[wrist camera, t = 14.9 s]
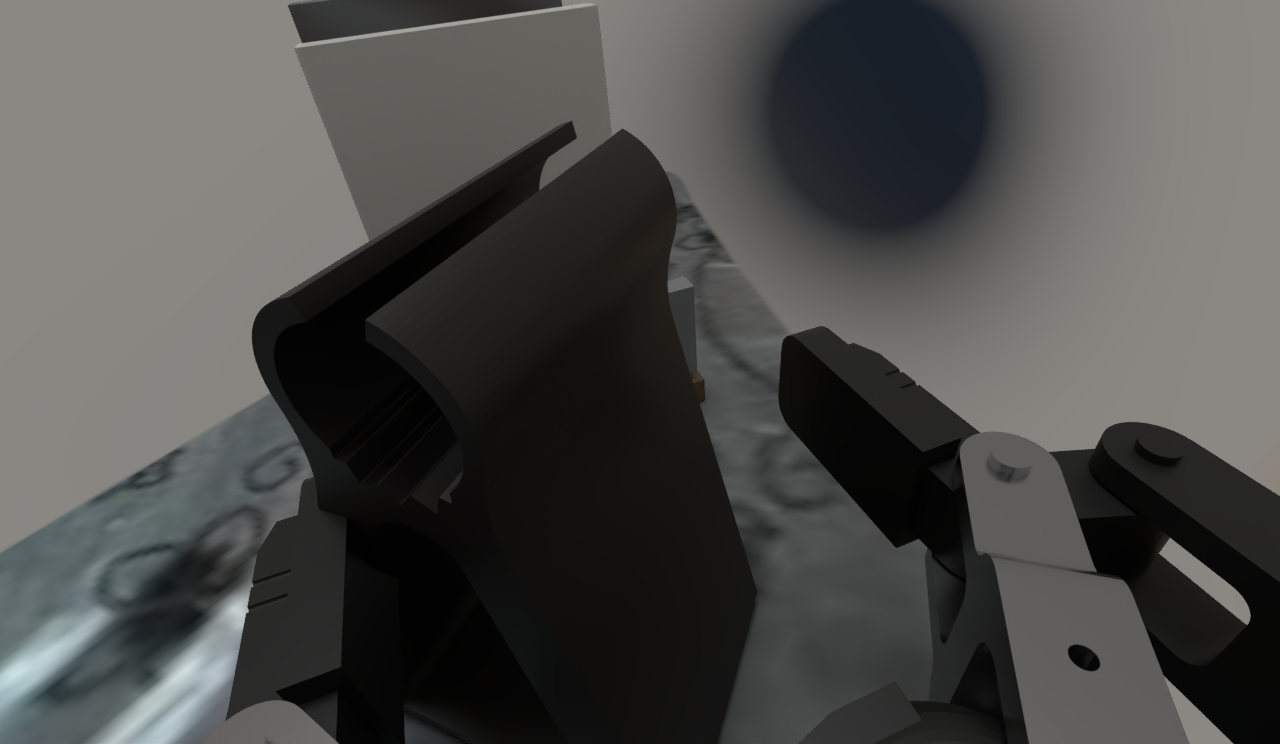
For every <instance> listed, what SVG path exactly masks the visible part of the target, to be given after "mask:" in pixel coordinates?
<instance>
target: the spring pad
mask: <svg viewBox="0 0 1280 744" xmlns="http://www.w3.org/2000/svg"><path fill="white" fill-rule="evenodd" d="M294 49H295V52H296V54H297V57H298V59H299V62H300V64H301V67H302V69H303V72H304V75H305V77H306V80H307V82H308V85H309V88H310V90H311V93H312V95H313V98H314V100H315V103H316V105H317V107H318V111H319V113H320V116H321V118H322V120H323V123H324V126H325V128H326V131H327V134H328V136H329V139H330V141H331V144H332V146H333V149H334V151H335V154H336V157H337V159H338V162H339V164H340V167H341V169H342V172H343V174H344V177H345V180H346V182H347V184H348V187H349V190H350V192H351V195H352V197H353V200H354V203H355V205H356V208H357V210H358V213H359V215H360V218H361V220H362V223H363V226H364V228H365V231H366V233H367V236H368V238H369V241H371V240H372V239H374V238H376V237H377V236H379V235H381V234H382V233H384V232H385V231H387V230H389V229H390V228H392V227H394V226H395V225H397V224H399V223H400V222H402V221H403V220H405V219H407V218H408V217H410V216H412V215H413V214H415V213H416V212H418V211H420V210H421V209H423V208H425V207H426V206H428V205H429V204H431V203H433V202H434V201H436V200H438V199H439V198H441V197H443V196H444V195H446V194H447V193H449V192H451V191H452V190H454V189H456V188H457V187H459V186H460V185H462V184H464V183H465V182H467V181H469V180H470V179H472V178H474V177H475V176H477V175H478V174H480V173H482V172H483V171H485V170H487V169H488V168H490V167H491V166H493V165H495V164H496V163H498V162H500V161H501V160H503V159H504V158H506V157H508V156H509V155H511V154H513V153H514V152H516V151H518V150H519V149H521V148H522V147H524V146H526V145H527V144H529V143H531V142H532V141H534V140H535V139H537V138H539V137H540V136H542V135H544V134H545V133H547V132H548V131H550V130H552V129H553V128H555V127H557V126H559V125H561V124H563V123H566V122H569V121H572V122H573V126H574V129H575V132H576V135H577V139H575V140H574V141H572V142H571V143H569V144H568V145H566V146H565V147H563V148H562V149H560V150H559V151H557V152H556V153H554V154H553V155H551V156H550V157H548V159H547V161H546V163H545V165H544V167H543V170H542V173H541V177H540V186H539V190H540V189H542V188H543V187H545V186H546V185H547V184H549V183H550V182H551V181H553V180H554V179H555V178H557V177H558V176H559V175H561V174H562V173H563V172H565V171H566V170H567V169H569V168H570V167H571V166H573V165H574V164H575V163H577V162H578V161H580V160H581V159H582V158H584V157H585V156H586V155H588V154H589V153H590V152H592V151H593V150H594V149H596V148H597V147H598V146H600V145H601V144H602V143H604V142H605V141H606V140H608V139H609V138H611V137H612V132H611V123H610V113H609V104H608V96H607V88H606V87H607V86H606V77H605V69H604V60H603V50H602V42H601V34H600V24H599V15H598V7H597V5H595V4H591V3H585V4H577V5H571V6H563V7H556V8H549V9H542V10H535V11H528V12H520V13H513V14H506V15H499V16H492V17H485V18H478V19H471V20H464V21H456V22H449V23H442V24H435V25H428V26H421V27H414V28H407V29H400V30H393V31H385V32H378V33H371V34H364V35H357V36H350V37H343V38H336V39H329V40H321V41H314V42H307V43H300V44H297V45H296V47H295V48H294ZM668 295H669V302H670V307H671V312H672V316H673V319H674V323H675V326H676V329H677V332H678V336H679V339H680V342H681V345H682V349H683V352H684V355H685V358H686V362H687V365H688V368H689V371H690V372H692V371H695V370H697V359H696V332H695V304H694V286H693V285H692V284H691V283H690V282H689V281H688V280H687V279H686V278H685V276H684V277H680V278H676V279H672V280H669V281H668Z"/></svg>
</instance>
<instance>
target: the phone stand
mask: <svg viewBox="0 0 1280 744" xmlns="http://www.w3.org/2000/svg"><path fill="white" fill-rule="evenodd" d="M575 139H577V135H576V132H575V129H574V126H573V122H572V121H569V122H566V123H563V124H561V125H559V126H557V127H555V128H553V129H552V130H550V131H548V132H547V133H545V134H544V135H542V136H540V137H539V138H537V139H535V140H534V141H532V142H531V143H529V144H527V145H526V146H524V147H522V148H521V149H519V150H518V151H516V152H514V153H513V154H511V155H509V156H508V157H506V158H504V159H503V160H501V161H500V162H498V163H496V164H495V165H493V166H491V167H490V168H488V169H487V170H485V171H483V172H482V173H480V174H478V175H477V176H475V177H474V178H472V179H470V180H469V181H467V182H465V183H464V184H462V185H460V186H459V187H457V188H456V189H454V190H452V191H451V192H449V193H447V194H446V195H444V196H443V197H441V198H439V199H438V200H436V201H434V202H433V203H431V204H429V205H428V206H426V207H425V208H423V209H421V210H420V211H418V212H416V213H415V214H413V215H412V216H410V217H408V218H407V219H405V220H403V221H402V222H400V223H399V224H397V225H395V226H394V227H392V228H390V229H389V230H387V231H385V232H384V233H382V234H381V235H379V236H377V237H376V238H374V239H372V240H371V241H369V242H368V243H366V244H364V245H363V246H361V247H360V248H358V249H356V250H355V251H353V252H351V253H350V254H348V255H346V256H345V257H343V258H341V259H340V260H338V261H337V262H335V263H333V264H332V265H330V266H328V267H327V268H325V269H324V270H322V271H320V272H319V273H317V274H315V275H314V276H312V277H311V278H309V279H307V280H306V281H304V282H302V283H301V284H299V285H298V286H296V287H294V288H293V289H291V290H289V291H288V292H286V293H285V294H283V295H281V296H280V297H278V298H276V299H275V300H273V301H271V302H270V303H268V304H267V305H265V306H264V307H263V308H262V309H261V310H260V311H259V313H258V314H257V316H256V318H255V321H254V324H253V329H252V345H253V351H254V356H255V359H256V362H257V365H258V368H259V370H260V373H261V375H262V377H263V380H264V382H265V384H266V386H267V387H268V389H269V391H270V393H271V395H272V396H273V398H274V399H275V401H276V403H277V404H278V406H279V407H280V409H281V410H282V412H283V413H284V415H285V416H286V418H287V420H288V421H289V423H290V425H291V426H292V428H293V430H294V432H295V433H296V435H297V437H298V439H299V441H300V443H301V445H302V447H303V449H304V451H305V454H306V456H307V458H308V461H309V463H310V466H311V469H312V472H313V475H314V479H315V484H316V490H317V501H318V508H319V509H322V510H325V511H328V512H331V513H334V514H337V515H340V516H343V517H346V518H347V519H348V520H349V522H350V524H351V525H352V527H353V529H354V530H355V532H356V534H357V535H358V537H359V539H360V540H361V542H362V544H363V545H364V547H365V549H366V550H367V552H368V554H369V555H370V557H371V559H372V560H373V562H374V564H375V566H376V567H377V569H378V571H379V572H380V573H383V574H386V575H389V576H392V577H394V578H397V579H398V598H399V621H400V643H401V666H402V688H403V710H404V711H406V712H408V713H410V714H412V715H414V716H416V717H418V718H420V719H422V720H424V721H426V722H428V723H430V724H432V725H434V726H436V727H438V728H440V729H442V730H444V731H446V732H448V733H450V734H452V735H454V736H456V737H458V738H460V739H462V740H464V741H466V742H468V743H470V744H715V743H716V740H717V736H718V733H719V729H720V725H721V722H722V718H723V714H724V711H725V707H726V703H727V700H728V696H729V693H730V689H731V685H732V682H733V678H734V674H735V671H736V667H737V663H738V660H739V656H740V652H741V649H742V645H743V642H744V638H745V634H746V631H747V627H748V623H749V620H750V616H751V612H752V609H753V605H754V601H755V598H756V594H757V589H756V586H755V583H754V579H753V576H752V573H751V570H750V566H749V563H748V560H747V557H746V553H745V550H744V547H743V544H742V540H741V537H740V534H739V531H738V527H737V524H736V521H735V518H734V514H733V511H732V508H731V505H730V501H729V498H728V495H727V492H726V488H725V485H724V482H723V479H722V475H721V472H720V469H719V466H718V462H717V459H716V456H715V453H714V449H713V446H712V443H711V440H710V436H709V433H708V430H707V427H706V423H705V420H704V417H703V414H702V410H701V407H700V404H699V401H698V397H697V394H696V391H695V388H694V384H693V381H692V378H691V375H690V371H689V368H688V365H687V362H686V358H685V355H684V352H683V349H682V345H681V342H680V339H679V336H678V332H677V329H676V326H675V323H674V319H673V316H672V312H671V307H670V302H669V295H668V264H669V257H670V251H671V247H672V243H673V240H674V236H675V231H676V222H677V212H676V203H675V198H674V194H673V190H672V187H671V184H670V182H669V179H668V177H667V175H666V173H665V171H664V169H663V168H662V166H661V164H660V163H659V161H658V160H657V159H656V157H655V156H654V155H653V153H652V152H651V151H650V150H649V149H648V148H647V147H646V146H645V145H644V144H643V143H642V142H641V141H640V140H638V139H637V138H636V137H634V136H633V135H632V134H630V133H629V132H627V131H626V130H624V129H621V130H620V131H619V132H617V133H616V134H615V135H613V136H612V137H611V138H609V139H608V140H606V141H605V142H604V143H602V144H601V145H600V146H598V147H597V148H596V149H594V150H593V151H592V152H590V153H589V154H588V155H586V156H585V157H584V158H582V159H581V160H580V161H578V162H577V163H575V164H574V165H573V166H571V167H570V168H569V169H567V170H566V171H565V172H563V173H562V174H561V175H559V176H558V177H557V178H555V179H554V180H553V181H551V182H550V183H549V184H547V185H546V186H545V187H543V188H542V189H540V190H539V186H540V177H541V173H542V170H543V167H544V165H545V163H546V161H547V159H548V157H550V156H551V155H553V154H554V153H556V152H557V151H559V150H560V149H562V148H563V147H565V146H566V145H568V144H569V143H571V142H572V141H574V140H575Z"/></svg>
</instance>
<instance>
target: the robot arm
mask: <svg viewBox="0 0 1280 744" xmlns="http://www.w3.org/2000/svg"><path fill="white" fill-rule="evenodd" d="M778 399H779V406H780V410H781V413H782V416H783V418H784V420H785V422H786V423H787V425H788V426H789V427H790V429H791V430H792V431H793V432H794V433H795V434H796V435H797V437H798V438H799V439H800V440H801V441H802V442H803V443H804V444H805V446H806V447H807V448H808V449H809V450H810V451H811V452H812V454H813V455H814V456H815V457H816V458H817V459H818V460H819V461H820V463H821V464H822V465H823V466H824V467H825V468H826V469H827V470H828V472H829V473H830V474H831V475H832V476H833V477H834V478H835V479H836V481H837V482H838V483H839V484H840V485H841V486H842V487H843V489H844V490H845V491H846V492H847V493H848V494H849V495H850V496H851V498H852V499H853V500H854V501H855V502H856V503H857V504H858V505H859V507H860V508H861V509H862V510H863V511H864V512H865V513H866V514H867V516H868V517H869V518H870V519H871V520H872V521H873V522H874V524H875V525H876V526H877V527H878V528H879V529H880V530H881V531H882V533H883V534H884V535H885V536H886V537H887V538H888V539H889V540H890V542H891V543H892V544H893V545H894V546H895V547H896V548H898V547H900V546H903V545H905V544H907V543H910V542H912V541H915V540H917V539H920V540H921V541H922V542H923V543H924V544H925V545H926V546H927V548H928V549H927V552H926V555H925V567H926V578H927V590H928V601H929V612H930V624H931V635H932V647H933V668H932V675H931V682H930V692H929V701H910V702H909V701H908V700H907V698H906V697H905V695H904V694H903V693H902V691H901V690H900V688H899V687H898V686H897V684H896V683H895V682H894V683H892V684H890V685H888V686H886V687H884V688H882V689H879V690H877V691H875V692H873V693H871V694H869V695H867V696H865V697H863V698H861V699H858V700H856V701H854V702H852V703H850V704H848V705H846V706H844V707H842V708H839V709H837V710H835V711H833V712H831V713H830V714H829V715H828V716H827V717H826V718H825V719H824V720H823V721H822V722H821V723H819V724H818V725H817V726H816V727H815V728H814V729H813V730H812V731H811V732H810V733H809V734H808V735H807V736H806V737H805V738H804V739H803V740H802V741H801V742H800V743H799V744H1189V742H1188V739H1187V736H1186V734H1185V731H1184V729H1183V726H1182V723H1181V721H1180V718H1179V715H1178V713H1177V710H1176V707H1175V705H1174V702H1173V699H1172V697H1171V694H1170V692H1169V689H1168V687H1167V684H1166V681H1165V678H1164V676H1165V677H1166V678H1167V679H1168V680H1169V681H1170V682H1171V683H1172V684H1173V685H1174V686H1175V687H1176V688H1177V689H1178V690H1179V691H1180V692H1181V693H1182V694H1183V695H1184V696H1185V697H1186V698H1187V699H1188V700H1189V701H1191V703H1192V704H1193V705H1195V706H1196V707H1197V708H1198V709H1199V710H1200V711H1201V712H1202V713H1203V714H1204V715H1205V716H1206V717H1207V718H1208V719H1209V720H1210V721H1211V722H1212V723H1213V724H1214V725H1215V726H1216V727H1217V728H1218V729H1219V730H1220V731H1221V732H1222V733H1223V734H1224V735H1225V736H1226V737H1227V738H1228V739H1229V740H1230V741H1231V742H1232V743H1234V744H1280V496H1278V495H1277V494H1275V493H1274V492H1272V491H1271V490H1269V489H1267V488H1266V487H1264V486H1262V485H1261V484H1260V483H1258V482H1256V481H1255V480H1253V479H1252V478H1250V477H1248V476H1247V475H1245V474H1244V473H1242V472H1240V471H1239V470H1238V469H1236V468H1234V467H1233V466H1231V465H1230V464H1228V463H1227V462H1225V461H1223V460H1222V459H1220V458H1219V457H1217V456H1215V455H1214V454H1212V453H1211V452H1209V451H1208V450H1206V449H1205V448H1203V447H1201V446H1200V445H1198V444H1197V443H1195V442H1193V441H1192V440H1190V439H1188V438H1187V437H1185V436H1183V435H1181V434H1179V433H1177V432H1175V431H1172V430H1169V429H1167V428H1163V427H1160V426H1156V425H1152V424H1147V423H1139V422H1125V423H1119V424H1115V425H1112V426H1110V427H1109V428H1107V429H1106V430H1105V431H1104V433H1103V434H1102V436H1101V438H1100V440H1099V442H1098V444H1097V446H1096V448H1095V449H1086V450H1073V451H1058V452H1048V451H1046V450H1045V449H1044V448H1042V447H1041V446H1039V445H1038V444H1036V443H1034V442H1032V441H1030V440H1028V439H1026V438H1023V437H1020V436H1017V435H1013V434H1009V433H1003V432H984V433H980V432H979V431H977V430H976V429H975V428H973V427H972V426H971V425H970V424H968V423H967V422H966V421H965V420H963V419H962V418H961V417H959V416H958V415H957V414H956V413H954V412H953V411H952V410H950V409H949V408H948V407H947V406H945V405H944V404H943V403H942V402H940V401H939V400H938V399H937V398H935V397H934V396H933V395H932V394H930V393H929V392H927V391H926V390H925V389H924V388H922V387H921V386H920V385H918V386H917V385H916V384H915V381H914V380H912V379H911V378H910V377H909V376H907V375H906V374H905V373H903V372H902V373H900V371H899V369H898V368H897V367H896V366H895V365H893V364H892V363H891V362H889V361H888V360H887V359H886V358H884V357H883V356H882V355H880V354H879V353H876V352H874V351H872V350H869V349H867V348H864V347H862V346H860V345H857V344H854V343H852V344H847V343H846V342H844V341H843V340H842V339H840V338H839V337H838V336H837V335H836V334H834V333H833V332H832V331H831V330H830V329H828V328H826V327H823V326H819V327H816V328H813V329H809V330H806V331H803V332H799V333H796V334H793V335H789V336H787V337H785V339H784V340H783V343H782V350H781V365H780V381H779V396H778ZM1169 538H1171V539H1173V540H1174V541H1175V542H1176V543H1178V544H1179V545H1180V546H1182V547H1183V548H1184V549H1185V550H1187V551H1188V552H1189V553H1191V554H1192V555H1193V556H1194V557H1196V558H1197V559H1198V560H1200V561H1201V562H1202V563H1203V564H1205V565H1206V566H1207V567H1208V568H1210V569H1211V570H1212V571H1213V572H1215V573H1216V574H1217V575H1219V576H1220V577H1221V578H1222V579H1224V580H1225V581H1226V582H1228V583H1229V584H1230V585H1231V586H1233V587H1234V588H1235V589H1236V590H1237V591H1238V592H1239V593H1240V594H1241V595H1242V596H1243V598H1244V599H1245V601H1246V603H1247V604H1248V607H1249V609H1250V613H1251V618H1250V622H1249V624H1248V625H1246V624H1244V623H1243V622H1242V621H1241V620H1240V619H1238V618H1237V617H1236V616H1235V615H1233V614H1232V613H1231V612H1230V611H1228V610H1227V609H1226V608H1225V607H1224V606H1222V605H1221V604H1220V603H1219V602H1217V601H1216V600H1215V599H1214V598H1213V597H1211V596H1210V595H1209V594H1208V593H1206V592H1205V591H1204V590H1203V589H1201V588H1200V587H1199V586H1198V585H1197V584H1195V583H1194V582H1193V581H1192V580H1191V579H1189V578H1188V577H1187V576H1186V575H1184V574H1183V573H1182V572H1181V571H1179V570H1178V569H1177V568H1176V567H1175V566H1173V565H1172V564H1171V563H1169V561H1167V560H1166V559H1165V558H1164V557H1162V556H1161V555H1160V554H1159V552H1160V551H1161V550H1162V548H1163V547H1164V545H1165V544H1166V542H1167V541H1168V540H1169ZM252 582H253V587H252V588H251V591H250V596H249V601H248V609H249V613H246V617H245V623H244V628H243V633H242V639H241V644H240V649H239V655H238V660H237V665H236V671H235V676H234V681H233V687H232V692H231V697H230V703H229V708H228V712H227V716H226V720H225V722H224V723H223V724H221V725H220V726H219V727H218V728H217V729H216V730H214V731H213V733H212V734H211V735H210V736H209V737H208V738H207V739H206V740H205V741H204V742H203V743H202V744H405V733H404V711H403V688H402V666H401V643H400V621H399V598H398V579H397V578H394V577H392V576H389V575H386V574H383V573H380V572H379V571H378V569H377V567H376V566H375V564H374V562H373V560H372V559H371V557H370V555H369V554H368V552H367V550H366V549H365V547H364V545H363V544H362V542H361V540H360V539H359V537H358V535H357V534H356V532H355V530H354V529H353V527H352V525H351V524H350V522H349V520H348V519H347V518H346V517H343V516H340V515H337V514H334V513H331V512H328V511H325V510H322V509H319V508H318V501H317V490H316V484H315V479H314V477H312V478H309V479H306V480H304V482H303V484H302V487H301V495H300V502H299V510H298V515H297V516H293V517H290V518H287V519H284V520H281V521H277V522H276V524H275V525H274V527H273V529H272V530H271V532H270V533H269V535H268V536H267V538H266V540H265V541H264V543H263V544H262V546H261V548H260V549H259V551H258V553H257V559H256V564H255V569H254V575H253V580H252ZM1163 675H1164V676H1163Z"/></svg>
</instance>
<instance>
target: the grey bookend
mask: <svg viewBox="0 0 1280 744" xmlns="http://www.w3.org/2000/svg"><path fill="white" fill-rule="evenodd" d="M288 7H289V10H290V12H291V15H292V17H293V20H294V23H295V25H296V28H297V31H298V33H299V36H300V38H301V41H302V43H307V42H314V41H321V40H329V39H336V38H343V37H350V36H357V35H364V34H371V33H378V32H385V31H393V30H400V29H407V28H414V27H421V26H428V25H435V24H442V23H449V22H456V21H464V20H471V19H478V18H485V17H492V16H499V15H506V14H513V13H520V12H528V11H535V10H542V9H549V8H556V7H562V2H561V0H312V1H304V2H296V3H291V4H289V5H288ZM690 375H691V378H692V381H693V384H694V388H695V391H696V394H697V397H698V401H699V402H700V401H703V400H705V389H704V379H703V378H702V376H701V375H700V374H699V372H698V371H697V370H695V371H692V372H690Z"/></svg>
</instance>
